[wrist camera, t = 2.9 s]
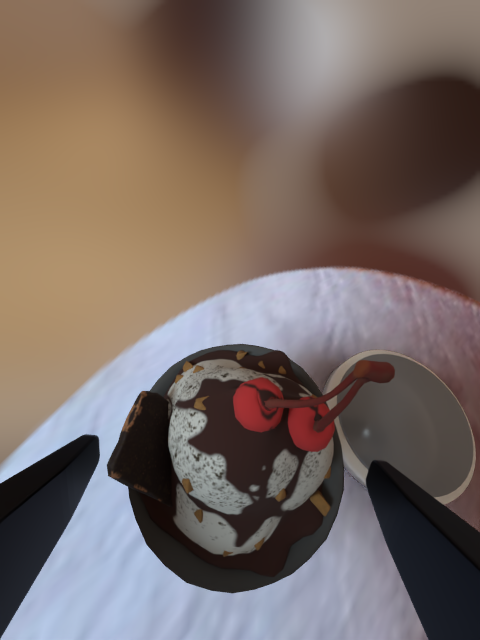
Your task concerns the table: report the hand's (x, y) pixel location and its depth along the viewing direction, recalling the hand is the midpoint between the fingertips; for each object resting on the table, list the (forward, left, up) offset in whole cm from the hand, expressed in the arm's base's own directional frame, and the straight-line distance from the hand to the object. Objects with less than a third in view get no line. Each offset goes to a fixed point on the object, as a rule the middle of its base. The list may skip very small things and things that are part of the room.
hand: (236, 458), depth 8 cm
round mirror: (+6, -11, -9) cm, 15 cm away
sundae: (+1, 0, -10) cm, 10 cm away
